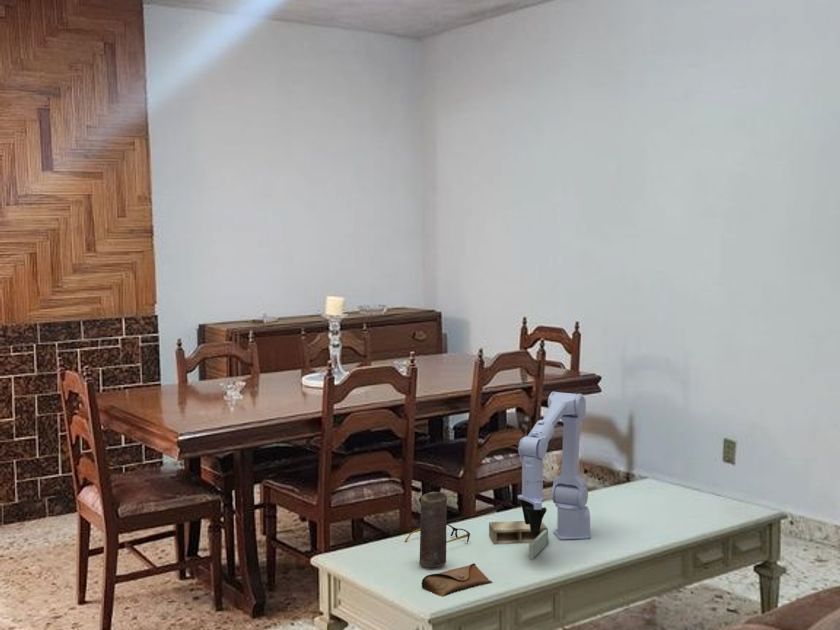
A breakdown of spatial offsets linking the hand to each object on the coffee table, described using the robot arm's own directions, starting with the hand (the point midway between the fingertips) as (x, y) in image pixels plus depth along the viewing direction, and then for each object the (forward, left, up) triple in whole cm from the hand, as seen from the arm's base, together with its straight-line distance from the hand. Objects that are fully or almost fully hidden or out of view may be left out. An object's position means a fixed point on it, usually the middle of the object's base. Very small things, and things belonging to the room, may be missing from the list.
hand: (532, 528), depth 273 cm
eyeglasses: (+24, -20, -10) cm, 32 cm away
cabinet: (0, -20, -10) cm, 22 cm away
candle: (+28, 0, -10) cm, 29 cm away
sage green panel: (-4, -8, -9) cm, 13 cm away
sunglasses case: (+23, +15, -10) cm, 29 cm away
